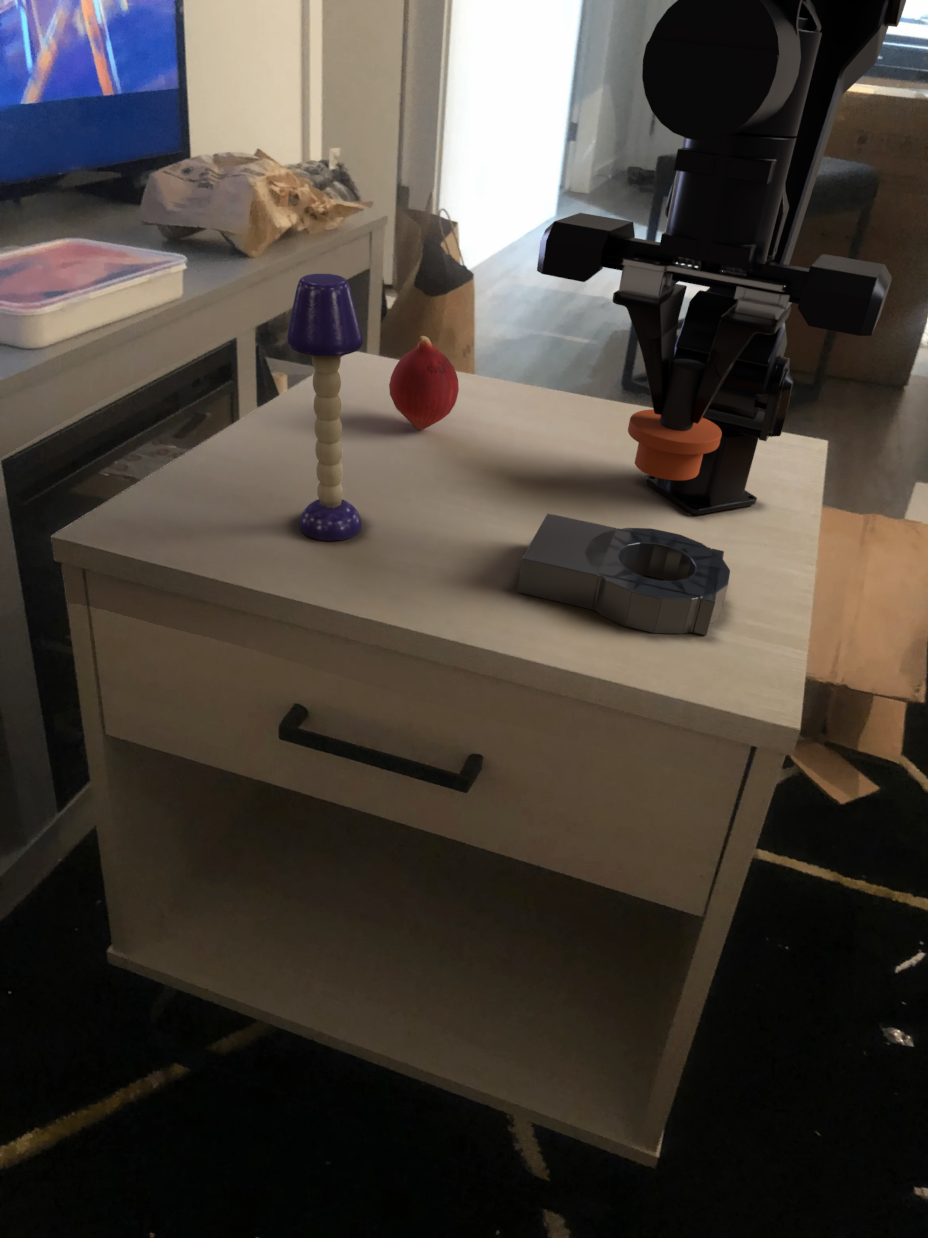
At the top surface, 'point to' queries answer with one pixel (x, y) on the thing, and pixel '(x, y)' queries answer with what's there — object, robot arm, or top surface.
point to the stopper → (674, 428)
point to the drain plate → (627, 574)
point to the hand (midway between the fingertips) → (678, 417)
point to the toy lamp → (326, 393)
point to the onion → (424, 385)
